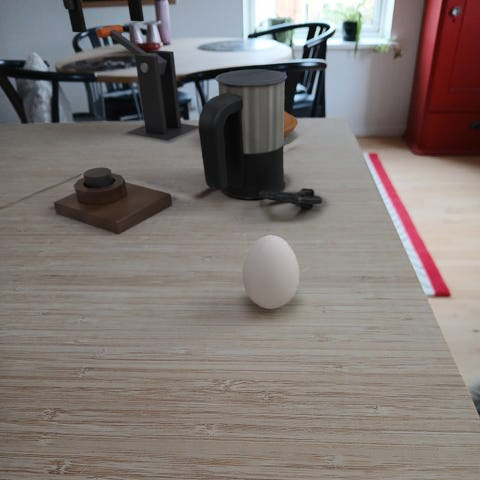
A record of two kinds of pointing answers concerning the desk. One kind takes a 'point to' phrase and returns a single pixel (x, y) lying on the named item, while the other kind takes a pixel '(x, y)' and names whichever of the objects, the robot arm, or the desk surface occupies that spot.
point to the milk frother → (248, 138)
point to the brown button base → (112, 204)
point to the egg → (270, 272)
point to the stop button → (98, 177)
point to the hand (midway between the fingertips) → (110, 26)
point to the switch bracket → (159, 98)
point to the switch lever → (128, 43)
